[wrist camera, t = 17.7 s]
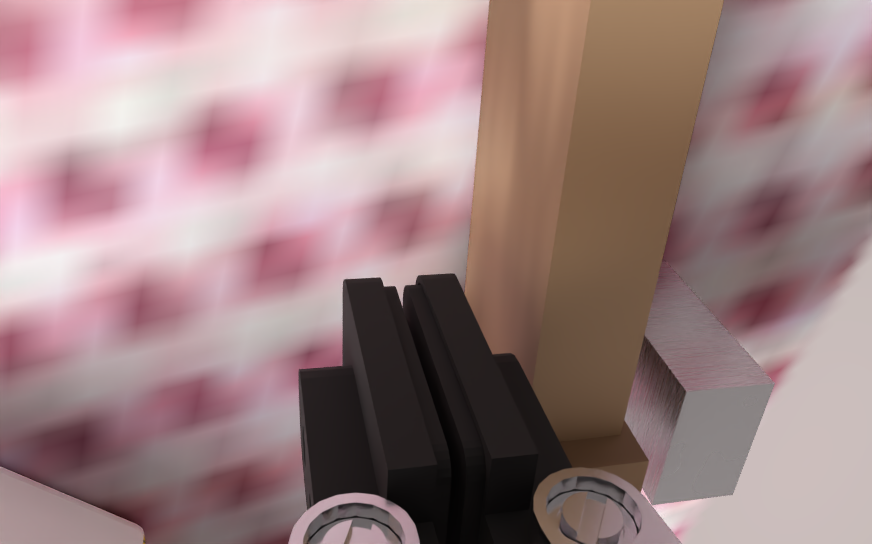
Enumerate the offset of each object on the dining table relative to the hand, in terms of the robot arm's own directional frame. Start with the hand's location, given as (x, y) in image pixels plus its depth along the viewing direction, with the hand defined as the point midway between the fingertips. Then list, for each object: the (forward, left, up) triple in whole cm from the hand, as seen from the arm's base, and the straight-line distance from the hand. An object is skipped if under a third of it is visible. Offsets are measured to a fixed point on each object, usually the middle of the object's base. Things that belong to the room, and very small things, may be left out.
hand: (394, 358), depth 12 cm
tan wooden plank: (+3, -3, -3) cm, 5 cm away
